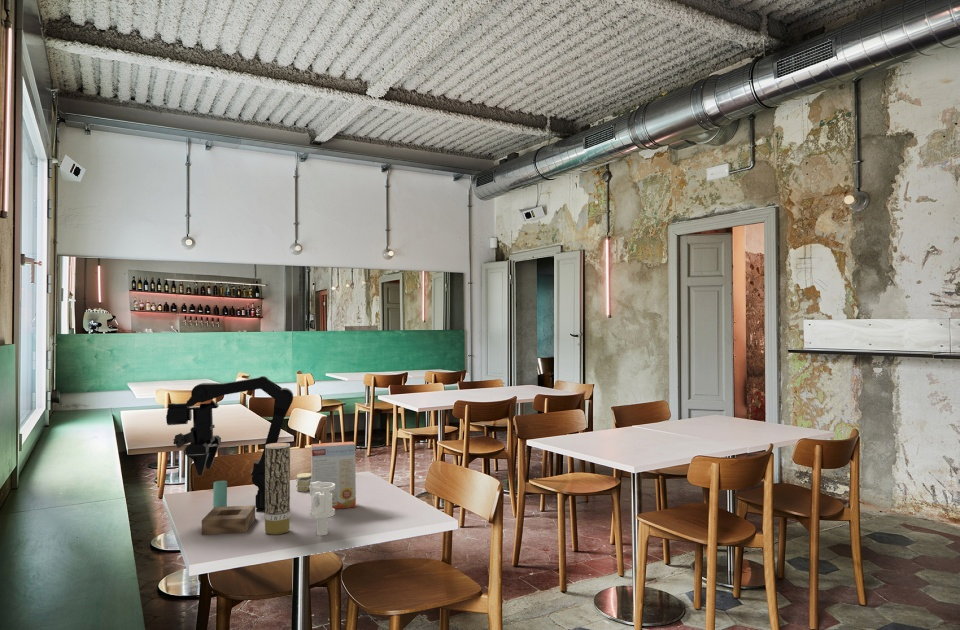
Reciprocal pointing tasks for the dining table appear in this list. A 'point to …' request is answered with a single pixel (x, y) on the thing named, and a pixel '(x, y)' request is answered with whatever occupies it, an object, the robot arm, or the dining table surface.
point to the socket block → (228, 519)
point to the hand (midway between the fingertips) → (204, 471)
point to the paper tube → (277, 488)
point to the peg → (220, 494)
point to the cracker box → (336, 471)
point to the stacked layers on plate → (303, 481)
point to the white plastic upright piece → (321, 505)
